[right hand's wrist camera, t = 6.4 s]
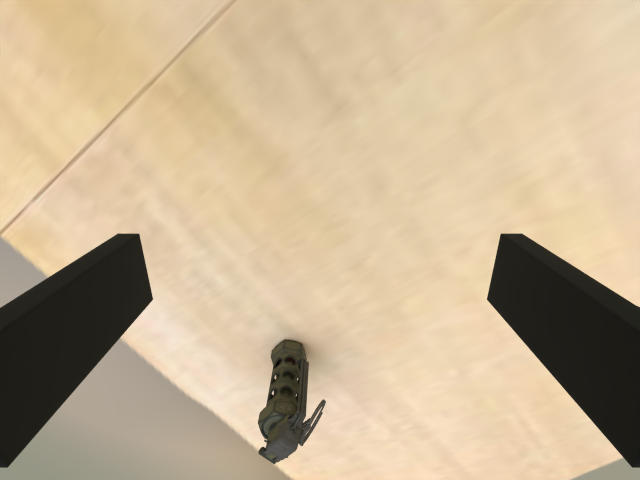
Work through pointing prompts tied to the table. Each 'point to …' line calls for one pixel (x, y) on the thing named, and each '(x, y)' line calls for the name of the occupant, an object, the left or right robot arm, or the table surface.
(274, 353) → the grenade
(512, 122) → the table surface
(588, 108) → the table surface
